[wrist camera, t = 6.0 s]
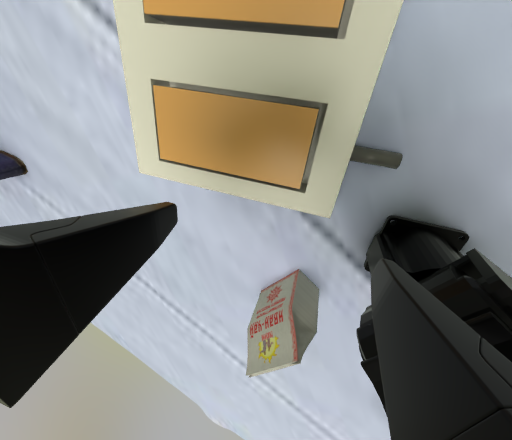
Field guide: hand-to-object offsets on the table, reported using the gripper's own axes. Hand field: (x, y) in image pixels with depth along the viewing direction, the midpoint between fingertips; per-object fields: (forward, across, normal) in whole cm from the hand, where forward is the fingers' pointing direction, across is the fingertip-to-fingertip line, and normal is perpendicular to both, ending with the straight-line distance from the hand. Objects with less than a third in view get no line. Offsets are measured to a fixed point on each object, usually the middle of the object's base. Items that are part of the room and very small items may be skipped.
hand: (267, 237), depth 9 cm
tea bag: (+13, -2, +16) cm, 21 cm away
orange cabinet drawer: (+12, +6, -2) cm, 13 cm away
